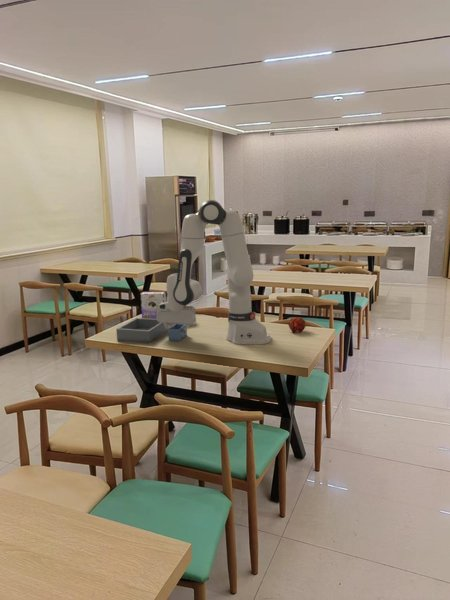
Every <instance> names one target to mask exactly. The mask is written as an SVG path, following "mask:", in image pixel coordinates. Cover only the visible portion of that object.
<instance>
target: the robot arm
mask: <svg viewBox="0 0 450 600" xmlns="http://www.w3.org/2000/svg"><path fill="white" fill-rule="evenodd" d="M208 225H218V227H219V231H220V235H221V241H222V246H223V252H224V255H225V259H226V263H227V269H226V274H227V275H226V277H227V290H228V313H227V320H228V321H227V322H228V329H227V334H226V340H227V341H229V342H231V343H232V344H234V345H266V344H269V342H271V341H272V335H271V334H268V332H267V329H266V326H265V325H264V324H263V323H262V322H261V321H259V320H258V319H257V318H256V312H255V311H252V292H251V283H252V282H253V279H254V271H253V266H252V263H251V258H250V255H249V252H248V245H247V241H246V235H245V230H244V226H243V222H242V218H241V217H240V214H239V213H238V212H237V211H235V210H225V209H224V208H223V207H222V204H221V203H220V202H219V201H218V200H215V199H207V200H204V201H202V203H201V204H200V207H199V209H198V210H197V212H196V213H190V214H186V215H185V216H184V218H183V221H182V224H181V226H182V227H181V232H180V233H181V236H180V238H181V239H180V251H179V257H178V262H177V263H178V267H177V272H176V273H175V272H174V273H171V274H169V275H168V276H167V278H166V295H167V297H166V302H163V303H160V304H159V305H158V310H157V321H158V322H163V323H164V326H165V328H166V332H168V329H169V328H170V327H171V326H168V324H185V326H186V328H184V329H183V332H187V333H188V328H189V327H190V325H191V326H192V325H194V324H195V323H196V322H197V317H196V313H197V311H196V308H195V306H192V305H189V304H191V303H192V302H194V301H196V300H197V299H199V298H200V297H201V296H202V295H203V291H204V289H203V286H202V283H201V282H200V281H198V280H195V279H192V278H191V276H192V268H193V264H194V262H195V261H196V259H197V258H198V257H199V256H200V255H201V254H202V253H203V250H204V248H205V247H204V246H205V231H206V227H207V226H208Z"/></svg>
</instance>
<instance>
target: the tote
mask: <svg viewBox="0 0 450 600" xmlns="http://www.w3.org/2000/svg"><path fill="white" fill-rule="evenodd" d="M169 327H170V328H169V329H168V331H167V333H168V334H167V339H168V341H171V342H172V341H174V342H181V341H182V340H183V339H185V338H186V337H187V336H188V335H187V334H188V331H187V332H183V329H184V328H186V326H185V324H177V323H173V325H171V326H169Z"/></svg>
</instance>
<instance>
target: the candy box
mask: <svg viewBox="0 0 450 600" xmlns="http://www.w3.org/2000/svg"><path fill="white" fill-rule="evenodd" d="M166 295H167V293H166V291H142V292H141V293H140V294H139V296H140V308H141V318H145V319H157V310H158V305H159V304H160V303H163V302H166V301H167V297H166Z"/></svg>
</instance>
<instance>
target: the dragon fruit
mask: <svg viewBox="0 0 450 600" xmlns="http://www.w3.org/2000/svg"><path fill="white" fill-rule="evenodd" d="M305 324H306V320H305V319H303V318H302V317H298V316H295V317H293V318H290V320H289V322H288V327H289V329H290V330H291V333H293V334H296V333H302V332H303V331H304V330H305V328H306V327H307V326H306V325H305Z"/></svg>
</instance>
